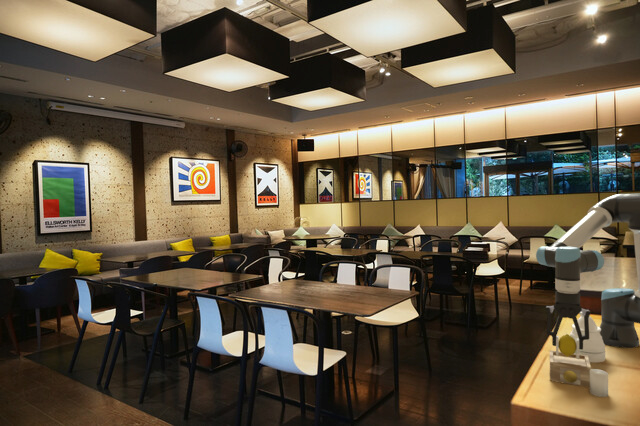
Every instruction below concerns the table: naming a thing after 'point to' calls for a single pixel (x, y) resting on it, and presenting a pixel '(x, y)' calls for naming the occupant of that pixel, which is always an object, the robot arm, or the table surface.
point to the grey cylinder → (598, 383)
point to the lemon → (567, 345)
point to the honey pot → (590, 340)
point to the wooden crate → (570, 369)
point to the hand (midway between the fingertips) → (567, 356)
